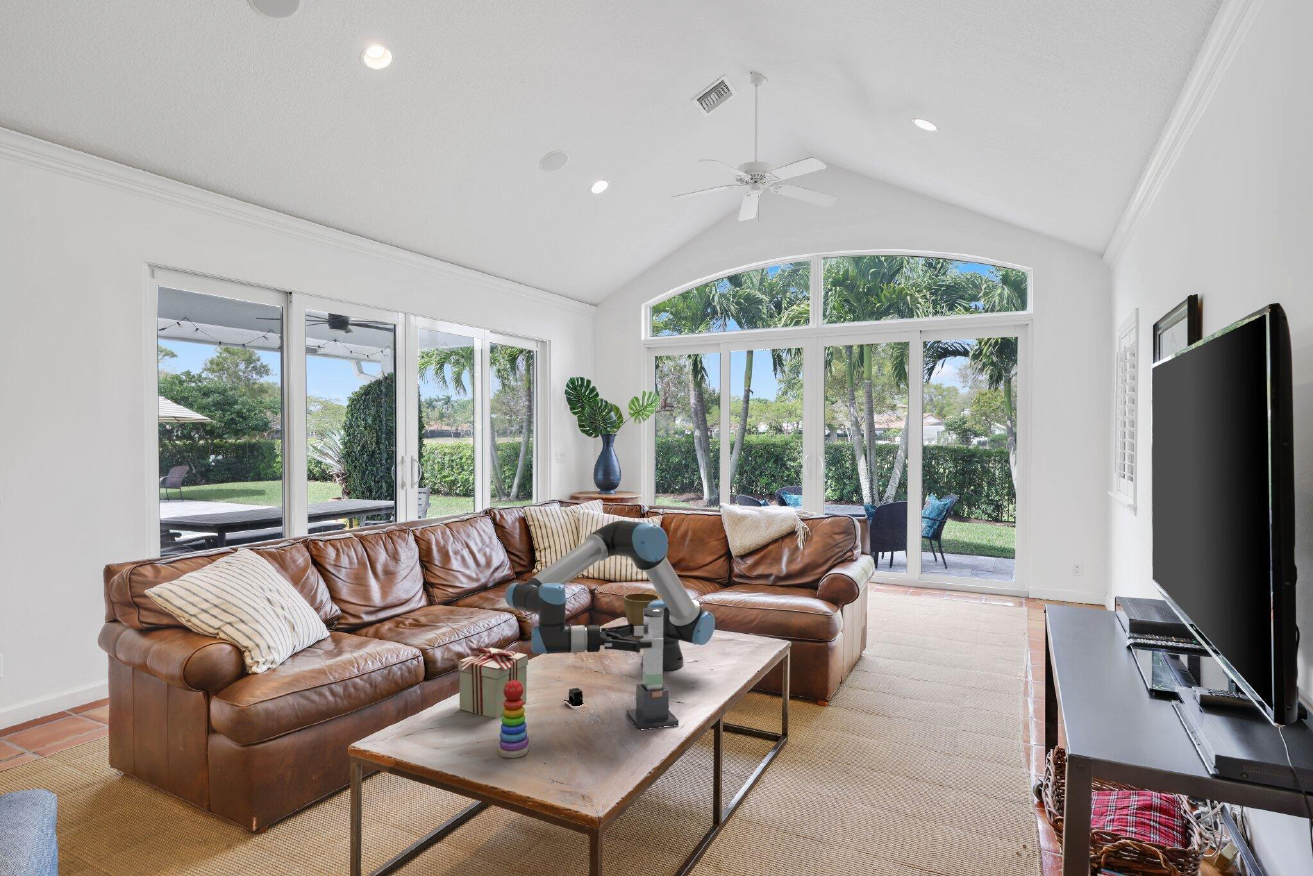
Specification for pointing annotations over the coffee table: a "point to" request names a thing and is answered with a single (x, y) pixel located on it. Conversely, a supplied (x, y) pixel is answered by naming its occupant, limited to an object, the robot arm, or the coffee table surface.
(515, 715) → the stacking toy
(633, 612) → the plant pot
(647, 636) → the stand post
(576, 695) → the black rectangular block
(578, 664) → the coffee table surface
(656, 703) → the stand base
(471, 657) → the gift box
